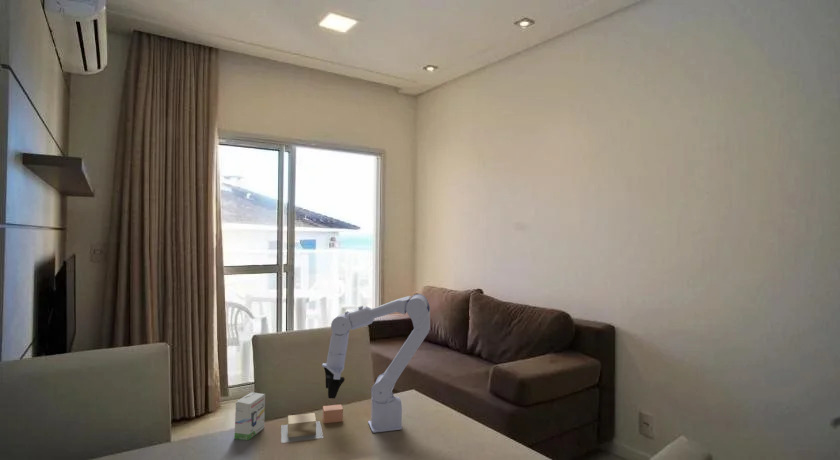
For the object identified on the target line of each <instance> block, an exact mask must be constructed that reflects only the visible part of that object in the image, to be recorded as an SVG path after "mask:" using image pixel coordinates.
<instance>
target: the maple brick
mask: <svg viewBox="0 0 840 460" xmlns="http://www.w3.org/2000/svg"><path fill="white" fill-rule="evenodd" d="M316 421H317V420H316V414H315V412H312V413H311V412H310V413H301V414H293V415H292V414H289V415H287V424H288V437H296V436H305V435H313V434H316Z"/></svg>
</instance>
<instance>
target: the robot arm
mask: <svg viewBox="0 0 840 460" xmlns="http://www.w3.org/2000/svg"><path fill="white" fill-rule="evenodd" d="M394 313H399V314H402V315H406V313H407V316H408V317H409V318H410V319H411V322H412V326H413V330H411V332H410V334H409V335H408V336H407V339H405V341H404V342H403V345H402V346H401V347H400V349H399V350H398V352H397V353H396V355H395V357H394V358H393V360H392V361H391V362H390V364H389V365H388V366H387V368H386V369H385V371H384V372H383V373H381V374H379V375H378V376H377V378H376V379H375V382H374V384H373V385H372V386H371V388H370V395H371V415H370V417H371V418H370V419H371V420H368V422H367V423H368V426H369V428H370V429H371V432H372V433H382V432H392V431H398V430H399V431H400V430H402V429H403V426H402V423H403V421H402V417H403V405H402V400H401V398H400V397H399V396H395V395H394V393H393V389H394V388H395V385H396V382H397V381H398V379H399V378H400V376H401V374H402V373H403V371H404V370H405V369H406V367H407V366H408V364H409V362H410V361H411V360H412V358H413V356H414V355H415V354H416V353H417V351H418V349H419V348H420V347H421V344H422V343H423V342H424V340H425V339H426V338H427V336H428V334H429V332H430V330H431V306H430V303H429V299H427V297H426V296H425V295H424V294H421V293H416V294H414V295H412V296H411V295H407V296H404V297H400V298H397V299H394V300H392V301H389V302H386V303H384V304H381V305H378V306H376V307H373V308H371V307H368V306H364V305H360V306H359V307H358V308H356V309H355V310H352V311H345V312H344V313H341V314H339V315H338V316H336V317H335V318H333V319H332V321H331V323H330V328H331V335H330V339H329V346H328V351H327V358H326V362H325V363H324V362H323V363H322V364H321V366H322V368H324V373H325V389H327V398H328V399H333V400H334V399H336V397H337V394H338V392H339V390H340V388H341V386H342V384H344V382H345V380H346V379H345V377H344V376H342V373H343V372H344V371H345V361H346V356H347V350H348V345H349V336H350V330H353V331H354V330H356V329H359V328H363V327H366V326H368V325H371V324H373V322H374V320H375V319H377V318H380V317H385V316H387V315H390V314H394Z"/></svg>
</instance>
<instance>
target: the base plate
mask: <svg viewBox="0 0 840 460" xmlns="http://www.w3.org/2000/svg"><path fill="white" fill-rule="evenodd" d="M318 439H319V440H320V439H324V433H323V428H322V425H321V421H320V420H316V434H313V435H305V436H296V437H288V423H287V424H281V425H280V442H281V444H285V443H293V442H302V441H303V442H304V441H309V440H310V441H311V440H318Z"/></svg>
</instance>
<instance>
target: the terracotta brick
mask: <svg viewBox="0 0 840 460" xmlns="http://www.w3.org/2000/svg"><path fill="white" fill-rule="evenodd" d="M343 421H344V408H343V405H342V404H332V405H331V404H330V405H323V406H322V422H323V424H330V423H338V422H343Z"/></svg>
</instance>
